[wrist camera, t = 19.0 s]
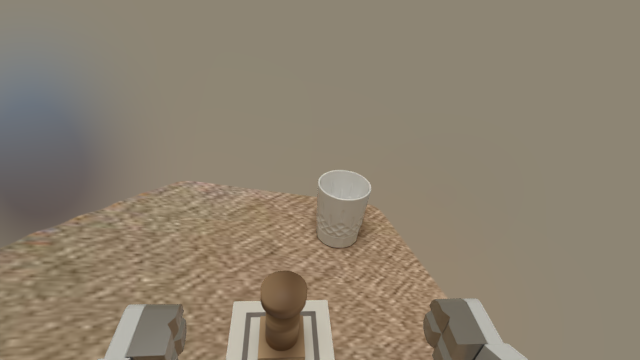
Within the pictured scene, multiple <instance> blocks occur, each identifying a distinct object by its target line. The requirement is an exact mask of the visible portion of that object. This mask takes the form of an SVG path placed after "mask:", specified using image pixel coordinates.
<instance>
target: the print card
mask: <svg viewBox="0 0 640 360" xmlns="http://www.w3.org/2000/svg"><path fill="white" fill-rule="evenodd" d="M300 315H303V324H304V343H305V360H335V359H334V351H333V342H332V334H331V326H330V318H329V310H328V302H327V300H306V304H305V307H304V308H303V310H302V311H301V312H300ZM260 316H266V312H265V310H264V309H263V307H262V305H261V301H240V302H234V305H233V312H232V319H231V327H230V334H229V341H228V348H227V356H226V360H258V345H259V330H260Z"/></svg>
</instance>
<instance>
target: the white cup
mask: <svg viewBox="0 0 640 360" xmlns="http://www.w3.org/2000/svg"><path fill="white" fill-rule="evenodd" d="M370 192H371V185H370V183H369V181H368V180H367V179H365V178H364V177H363V176H361V175H359V174H357V173H354V172H351V171H346V170H333V171H329V172H326V173H324V174H323V175H322V176H321V177H320V178H319V181H318V196H317V229H316V232H317V236H318V238H319V239H320V240H321V241H322V242H323V243H324V244H326V245H328V246H330V247H334V248H344V247H348V246H351V245H352V244H353V243H354V242H356V239H357V235H358V231H359V229H360V227H361V224H362V221H363V217H364V214H365V210H366V207H367V203H368V199H369V195H370Z"/></svg>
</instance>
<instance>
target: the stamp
mask: <svg viewBox="0 0 640 360" xmlns="http://www.w3.org/2000/svg"><path fill="white" fill-rule="evenodd" d="M306 298H307V285H306V282H305V280H304V279H303V278H302V277H301V276H300V275H298V274H296V273H294V272H291V271H278V272H274V273H272V274H270V275H269V276H267V277H266V278H265V279H264V281H263V283H262V285H261V305H262V307H263V309H264V310H265V312H266V316H260V330H259V345H258V360H305V343H304V324H303V315H300V312H301V311H302V310H303V308H304V307H305V304H306Z"/></svg>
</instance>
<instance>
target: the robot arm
mask: <svg viewBox="0 0 640 360" xmlns="http://www.w3.org/2000/svg"><path fill="white" fill-rule="evenodd" d="M430 308H431V311H430V312H428V313H427V314H426V315H425V318H424V322H423V329H424V334H425V337H426V340H427V342H428V343H429V344H430V345H431V346H432V347H433V348H434V351H433V354H432V356H433V359H434V360H528V359H527V358H525V357H524V356H523V355H522V354H520V353H519V352H518V351H517V350H515V349H514V348H513V347H512V346H510V345H509V344H504V343H503V341H502V339H501V337H500V336H499V334H498V332H497V330H496V329H495V327H494V325H493V323H492V322H491V320H490V318H489V316H488V314H487V313H486V311H485V309H484V307H483V306H482V304H481V302H480V301H479V300H478V299H461V298H459V299H434V300H433V301H432V302H431V304H430ZM183 312H184V310H183V306H182V304H158V305H148V304H139V305H128V306H127V308H126V309H125V310H124V313H123V315H122V317H121V320H120V322H119V324H118V327H117V329H116V331H115V334H114V336H113V338H112V341H111V343H110V345H109V348H108V350H107V352H106V355H105V357H104V359H98V360H178V356H179V355H180V354H181V353H182V352H183V349H184V345H185V339H186V320H185V319H184V318H182V315H183Z"/></svg>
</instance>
